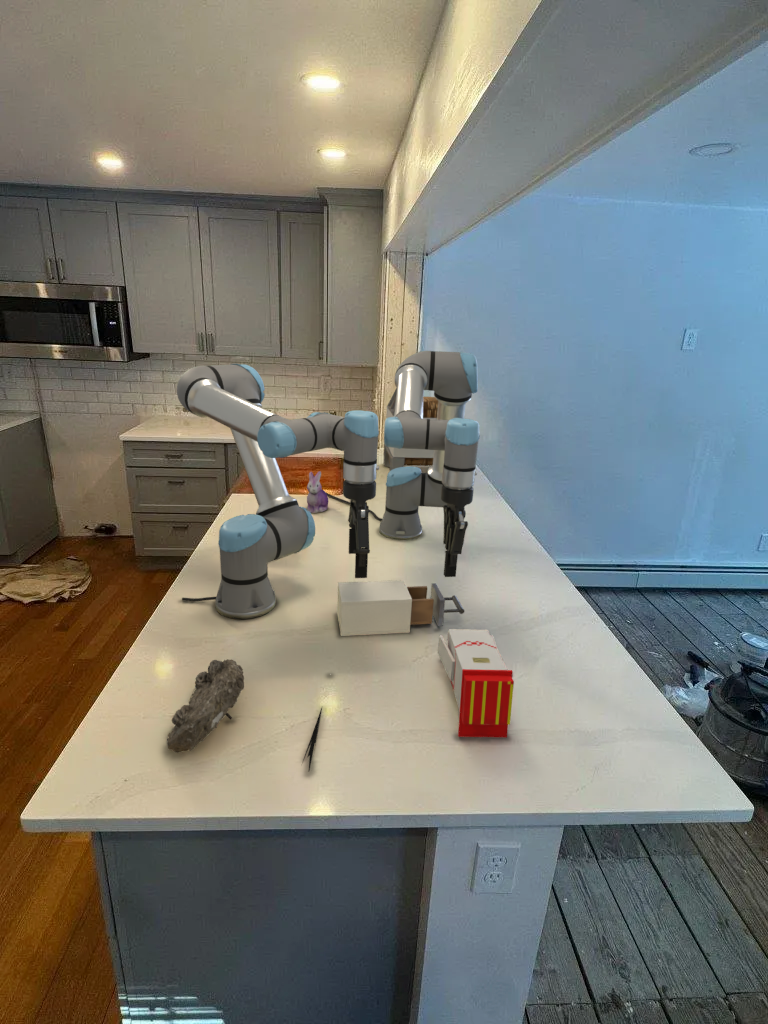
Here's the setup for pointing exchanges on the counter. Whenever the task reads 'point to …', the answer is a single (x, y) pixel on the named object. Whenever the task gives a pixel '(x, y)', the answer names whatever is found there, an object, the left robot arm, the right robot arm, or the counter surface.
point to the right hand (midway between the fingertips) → (449, 575)
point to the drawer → (430, 605)
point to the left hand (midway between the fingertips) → (357, 564)
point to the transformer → (410, 456)
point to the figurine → (316, 494)
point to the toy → (478, 682)
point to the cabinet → (373, 607)
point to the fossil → (206, 705)
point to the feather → (313, 740)
